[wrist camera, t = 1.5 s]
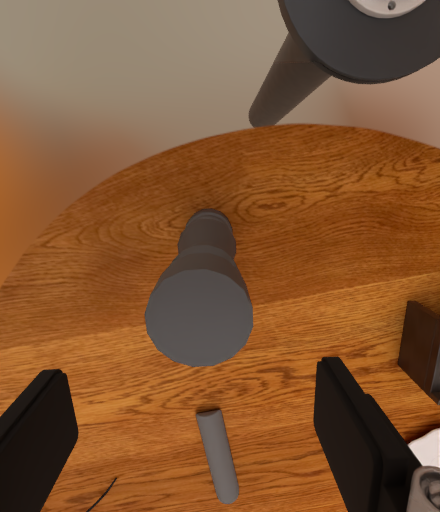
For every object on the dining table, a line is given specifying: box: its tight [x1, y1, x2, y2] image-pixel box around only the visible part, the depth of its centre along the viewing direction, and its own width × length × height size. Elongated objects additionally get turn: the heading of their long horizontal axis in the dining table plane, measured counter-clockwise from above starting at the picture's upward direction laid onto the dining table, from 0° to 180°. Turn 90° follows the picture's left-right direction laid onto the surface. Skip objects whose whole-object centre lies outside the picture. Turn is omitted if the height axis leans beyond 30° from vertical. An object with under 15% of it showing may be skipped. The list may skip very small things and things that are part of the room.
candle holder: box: [145, 209, 253, 367], centre depth 27 cm, size 6×6×25 cm
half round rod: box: [196, 410, 239, 504], centre depth 48 cm, size 4×20×2 cm, turn 11°
